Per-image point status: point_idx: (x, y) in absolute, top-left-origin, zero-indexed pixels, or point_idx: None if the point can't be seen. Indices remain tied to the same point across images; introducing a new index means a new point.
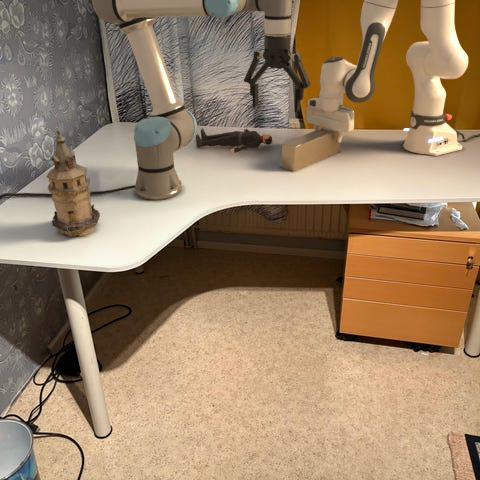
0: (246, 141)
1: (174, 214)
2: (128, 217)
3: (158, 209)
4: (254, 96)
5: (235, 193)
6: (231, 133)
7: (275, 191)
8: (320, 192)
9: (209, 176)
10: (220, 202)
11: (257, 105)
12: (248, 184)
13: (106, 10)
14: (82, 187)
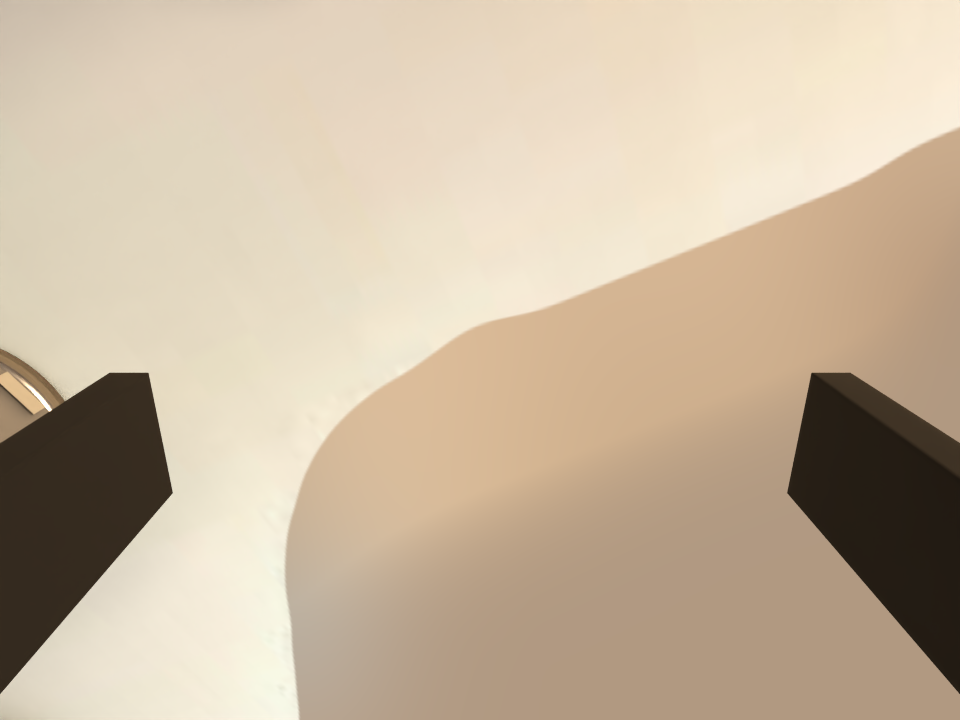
0: None
1: (201, 583)
2: (72, 654)
3: (117, 572)
4: (64, 605)
5: (310, 325)
6: None
7: (483, 224)
8: (714, 138)
9: (56, 176)
10: (300, 433)
11: (153, 406)
12: (312, 194)
13: None
14: None
